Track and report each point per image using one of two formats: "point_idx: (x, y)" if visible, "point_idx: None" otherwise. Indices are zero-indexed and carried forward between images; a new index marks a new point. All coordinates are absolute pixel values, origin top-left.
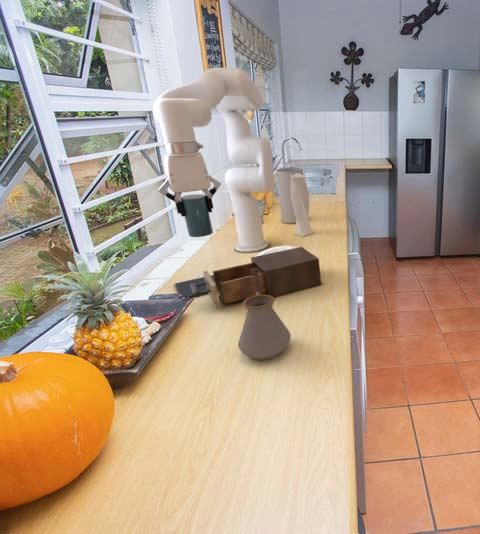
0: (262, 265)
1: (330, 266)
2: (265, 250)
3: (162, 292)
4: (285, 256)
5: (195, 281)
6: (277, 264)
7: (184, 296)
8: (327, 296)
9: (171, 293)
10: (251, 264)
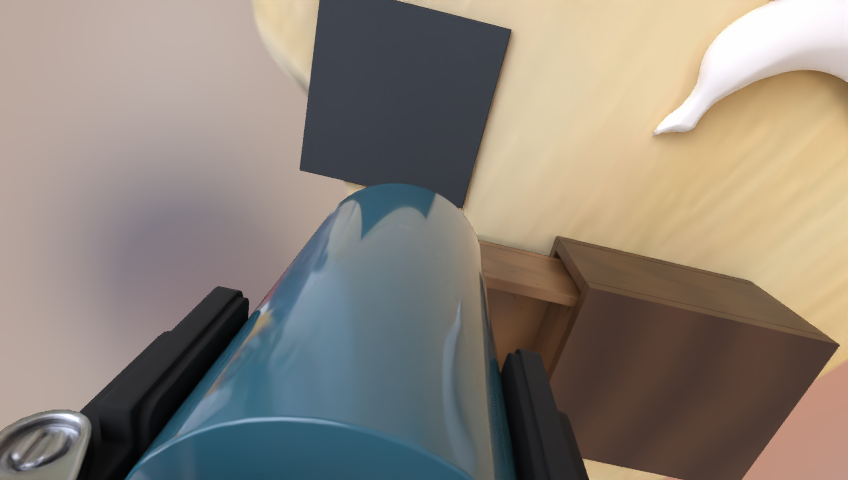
0: (555, 398)
1: (840, 320)
2: (830, 24)
3: (260, 25)
4: (687, 387)
5: (396, 39)
6: (598, 429)
7: (312, 163)
8: (619, 466)
9: (287, 69)
10: (562, 302)
